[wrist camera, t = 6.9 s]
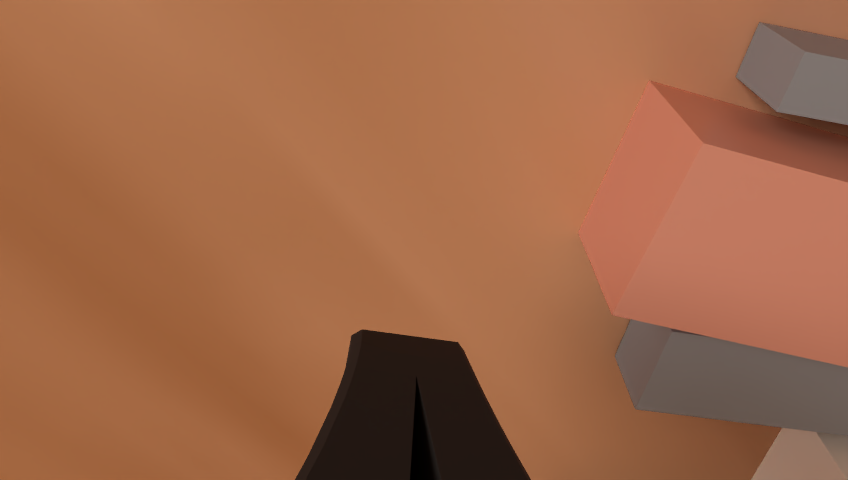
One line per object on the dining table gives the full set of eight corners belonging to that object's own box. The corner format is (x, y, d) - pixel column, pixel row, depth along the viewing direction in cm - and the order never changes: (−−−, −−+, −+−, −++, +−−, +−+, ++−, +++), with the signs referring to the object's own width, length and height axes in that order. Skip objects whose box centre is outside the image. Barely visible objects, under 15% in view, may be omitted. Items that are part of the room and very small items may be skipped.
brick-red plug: (854, 295, 19) (936, 386, 16) (576, 228, 18) (611, 314, 15) (950, 164, 17) (1063, 241, 14) (645, 76, 16) (702, 142, 13)
